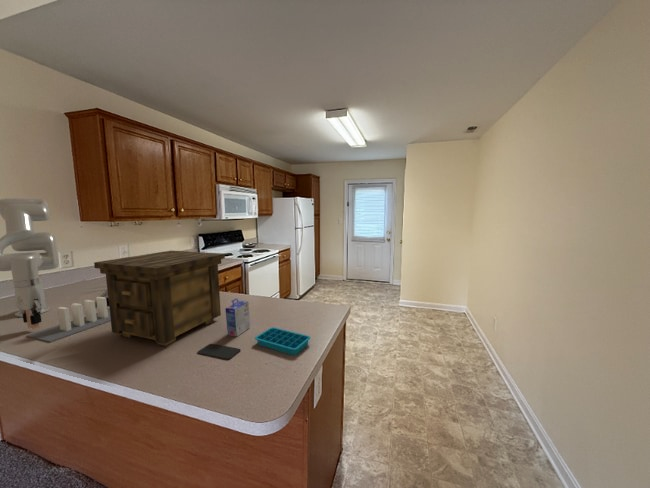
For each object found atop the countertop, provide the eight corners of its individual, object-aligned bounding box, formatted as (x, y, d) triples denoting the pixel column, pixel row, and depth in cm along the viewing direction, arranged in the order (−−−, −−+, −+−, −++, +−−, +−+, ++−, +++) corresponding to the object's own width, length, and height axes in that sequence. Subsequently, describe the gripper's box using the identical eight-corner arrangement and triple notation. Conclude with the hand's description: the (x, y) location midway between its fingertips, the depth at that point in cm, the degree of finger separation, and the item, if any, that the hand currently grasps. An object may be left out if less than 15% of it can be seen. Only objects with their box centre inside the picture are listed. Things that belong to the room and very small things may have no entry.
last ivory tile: (60, 329, 118) (57, 308, 117) (64, 327, 119) (61, 306, 118) (67, 330, 116) (64, 309, 115) (71, 329, 118) (68, 308, 117)
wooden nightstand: (228, 318, 130) (224, 253, 126) (163, 353, 98) (156, 268, 94) (175, 309, 142) (171, 250, 138) (102, 339, 110) (94, 262, 106)
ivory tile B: (86, 320, 127) (83, 300, 126) (90, 319, 129) (87, 299, 128) (93, 322, 126) (90, 301, 125) (96, 320, 127) (94, 300, 126)
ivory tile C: (73, 324, 123) (71, 304, 121) (77, 323, 124) (75, 303, 123) (80, 326, 121) (77, 305, 120) (84, 324, 123) (82, 304, 121)
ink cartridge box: (240, 325, 122) (239, 295, 120) (250, 327, 120) (249, 296, 118) (226, 335, 112) (224, 302, 111) (237, 337, 111) (235, 303, 109)
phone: (210, 343, 105) (242, 349, 100) (210, 345, 105) (242, 351, 100) (195, 352, 98) (228, 359, 93) (196, 354, 98) (229, 361, 93)
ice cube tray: (272, 333, 114) (272, 326, 114) (312, 343, 105) (311, 336, 105) (253, 345, 104) (253, 338, 104) (295, 358, 95) (295, 350, 94)
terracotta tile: (27, 327, 118) (24, 305, 116) (32, 325, 119) (29, 304, 118) (34, 328, 116) (31, 307, 115) (39, 327, 118) (36, 306, 116)
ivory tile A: (98, 316, 132) (95, 297, 131) (101, 315, 134) (99, 296, 132) (104, 318, 130) (102, 298, 129) (108, 316, 132) (106, 297, 131)
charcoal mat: (26, 336, 112) (26, 335, 112) (110, 309, 143) (110, 308, 143) (50, 342, 107) (50, 341, 107) (132, 313, 138) (132, 312, 138)
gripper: (3, 283, 114) (10, 322, 117) (26, 287, 109) (32, 328, 111) (27, 279, 121) (33, 316, 124) (49, 282, 116) (55, 321, 118)
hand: (32, 321), depth 117 cm, fingers closed on terracotta tile, 4 cm apart
